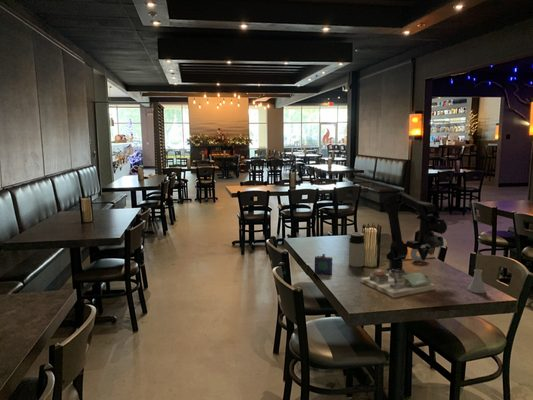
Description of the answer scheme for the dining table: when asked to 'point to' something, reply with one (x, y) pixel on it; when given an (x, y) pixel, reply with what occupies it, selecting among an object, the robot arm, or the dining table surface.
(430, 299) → the dining table surface
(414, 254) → the donut
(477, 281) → the flask
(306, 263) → the dining table surface
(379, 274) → the terracotta button
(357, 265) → the travel mug
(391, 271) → the toggle lever
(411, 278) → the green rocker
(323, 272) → the flask
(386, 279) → the control panel
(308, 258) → the dining table surface
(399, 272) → the black button
